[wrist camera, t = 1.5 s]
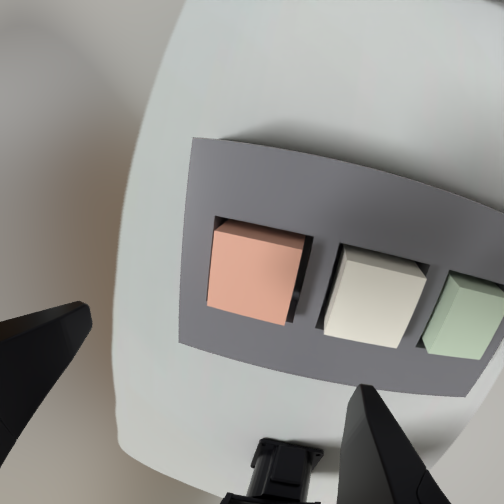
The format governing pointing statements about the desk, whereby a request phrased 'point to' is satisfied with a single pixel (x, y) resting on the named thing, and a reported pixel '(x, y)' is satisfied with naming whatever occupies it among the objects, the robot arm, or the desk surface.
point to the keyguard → (332, 261)
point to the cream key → (372, 296)
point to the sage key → (464, 317)
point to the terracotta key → (254, 270)
